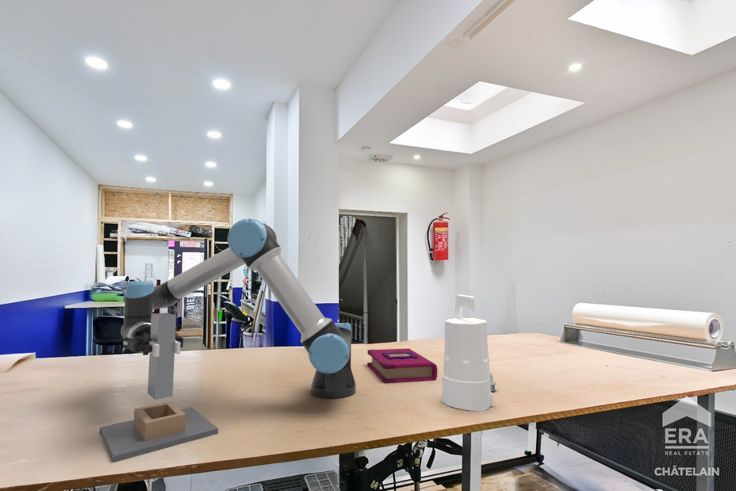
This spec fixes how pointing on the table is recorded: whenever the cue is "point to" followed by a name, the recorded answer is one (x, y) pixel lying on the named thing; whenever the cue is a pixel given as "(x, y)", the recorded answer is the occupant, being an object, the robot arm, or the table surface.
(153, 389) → the grey rectangular post
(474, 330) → the white pump bottle
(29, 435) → the table surface
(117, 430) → the slotted post base
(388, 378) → the book
